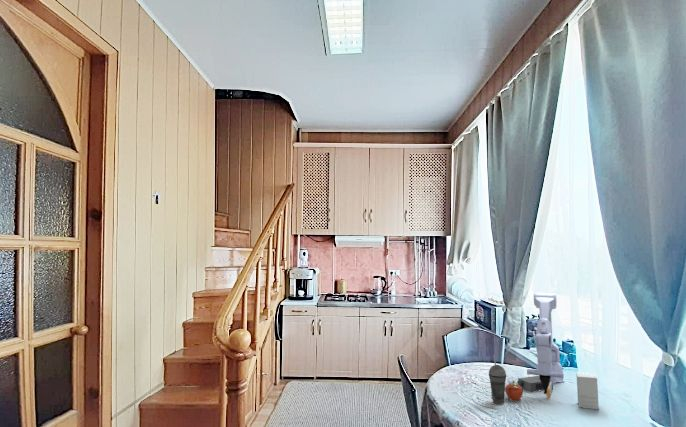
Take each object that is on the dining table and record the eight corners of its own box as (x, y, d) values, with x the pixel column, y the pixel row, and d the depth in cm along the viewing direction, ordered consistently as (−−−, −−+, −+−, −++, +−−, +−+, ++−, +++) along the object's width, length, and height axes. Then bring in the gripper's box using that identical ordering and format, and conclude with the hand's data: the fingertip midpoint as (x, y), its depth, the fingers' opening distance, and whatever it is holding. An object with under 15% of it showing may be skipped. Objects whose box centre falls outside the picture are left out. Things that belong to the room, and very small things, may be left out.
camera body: (539, 384, 216) (538, 374, 216) (552, 389, 208) (551, 379, 209) (516, 387, 212) (516, 377, 212) (528, 392, 204) (528, 382, 205)
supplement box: (597, 404, 189) (595, 373, 190) (599, 410, 182) (597, 378, 183) (577, 401, 192) (576, 371, 193) (578, 407, 185) (576, 376, 186)
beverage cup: (505, 406, 187) (503, 357, 188) (487, 403, 191) (485, 355, 192) (509, 401, 193) (507, 353, 195) (491, 398, 197) (490, 351, 198)
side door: (550, 388, 208) (550, 381, 208) (553, 389, 208) (553, 381, 208) (547, 398, 195) (546, 390, 196) (549, 398, 195) (549, 390, 195)
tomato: (505, 401, 194) (504, 382, 194) (505, 395, 201) (504, 377, 201) (523, 403, 191) (523, 383, 192) (523, 397, 198) (522, 378, 199)
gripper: (525, 361, 198) (526, 393, 197) (562, 365, 191) (563, 398, 190) (527, 357, 204) (528, 388, 203) (563, 361, 197) (564, 393, 196)
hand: (545, 393), depth 197 cm, fingers closed
